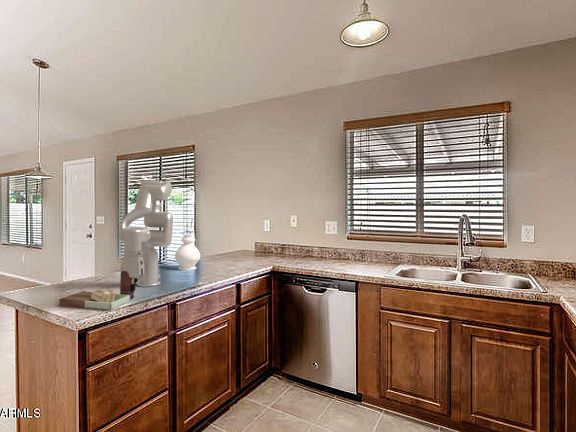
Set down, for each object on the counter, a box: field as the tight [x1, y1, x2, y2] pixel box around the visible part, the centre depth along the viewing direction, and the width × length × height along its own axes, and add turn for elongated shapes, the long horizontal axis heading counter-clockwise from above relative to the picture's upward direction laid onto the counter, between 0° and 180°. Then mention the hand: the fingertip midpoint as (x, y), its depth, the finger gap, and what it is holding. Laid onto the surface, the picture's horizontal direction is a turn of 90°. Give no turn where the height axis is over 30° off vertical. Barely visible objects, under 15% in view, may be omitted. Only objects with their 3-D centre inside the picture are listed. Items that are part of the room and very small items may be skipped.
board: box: [58, 290, 98, 309], centre depth 155 cm, size 14×12×3 cm
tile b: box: [101, 289, 117, 303], centre depth 153 cm, size 5×5×3 cm
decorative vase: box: [174, 233, 201, 271], centre depth 244 cm, size 18×18×25 cm
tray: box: [84, 293, 131, 311], centre depth 153 cm, size 14×12×3 cm
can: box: [119, 271, 135, 300], centre depth 163 cm, size 6×6×14 cm
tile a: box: [91, 289, 106, 302], centre depth 153 cm, size 5×5×3 cm
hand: (131, 291), depth 163 cm, fingers closed
